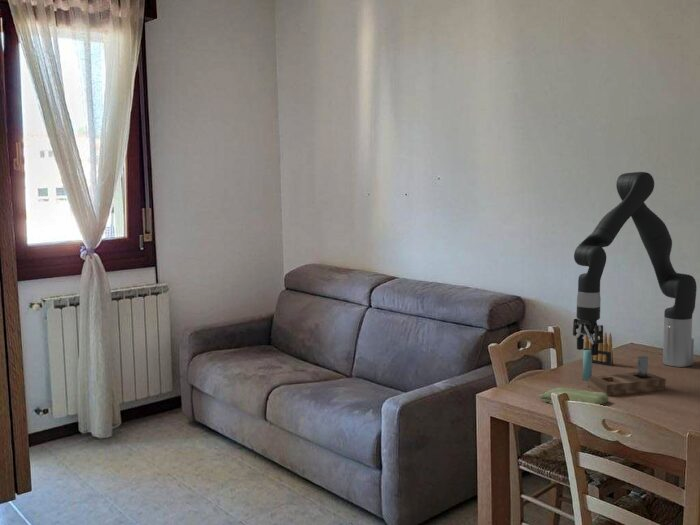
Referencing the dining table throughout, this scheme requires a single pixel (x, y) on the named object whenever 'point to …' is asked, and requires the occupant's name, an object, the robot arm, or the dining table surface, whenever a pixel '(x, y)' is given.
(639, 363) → the steel peg
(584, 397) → the washcloth
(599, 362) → the ammunition clip
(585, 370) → the teal peg
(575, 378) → the dining table surface
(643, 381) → the hole block
